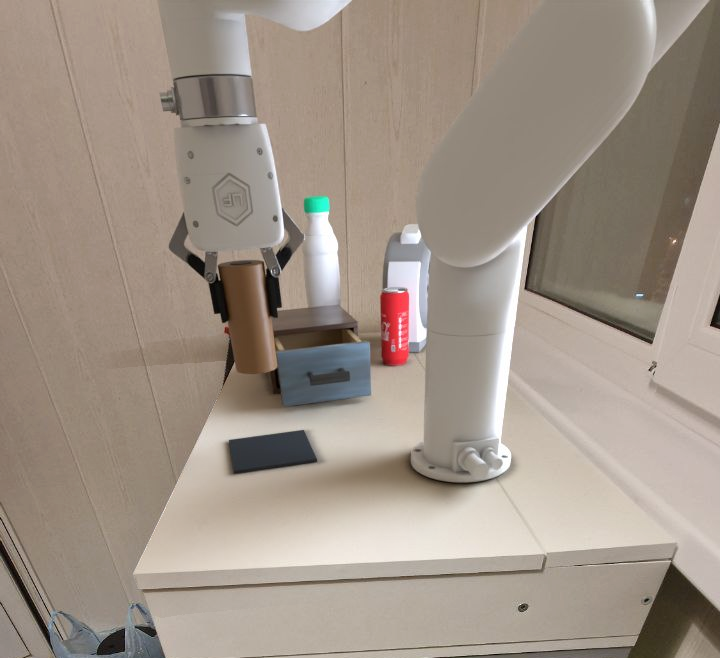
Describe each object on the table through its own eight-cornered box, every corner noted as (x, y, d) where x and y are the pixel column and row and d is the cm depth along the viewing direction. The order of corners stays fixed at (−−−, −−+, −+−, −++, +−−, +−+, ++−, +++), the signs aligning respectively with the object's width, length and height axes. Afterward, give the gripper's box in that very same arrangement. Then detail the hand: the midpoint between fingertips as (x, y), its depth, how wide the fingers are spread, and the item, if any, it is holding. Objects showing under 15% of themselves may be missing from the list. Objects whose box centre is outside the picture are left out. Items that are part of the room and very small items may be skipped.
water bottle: (306, 345, 119) (291, 197, 103) (336, 340, 121) (326, 194, 105) (318, 353, 114) (304, 198, 98) (349, 347, 116) (341, 195, 100)
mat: (317, 461, 73) (317, 458, 73) (234, 473, 72) (233, 470, 71) (304, 432, 81) (303, 429, 81) (229, 442, 80) (228, 439, 80)
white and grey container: (422, 357, 108) (426, 229, 95) (381, 355, 110) (378, 230, 97) (441, 334, 121) (446, 218, 108) (403, 333, 123) (404, 220, 110)
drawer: (378, 403, 87) (376, 349, 81) (287, 415, 85) (279, 360, 79) (351, 371, 100) (349, 322, 95) (272, 380, 98) (265, 331, 93)
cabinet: (360, 382, 98) (357, 321, 92) (273, 393, 96) (264, 331, 89) (342, 360, 109) (338, 304, 103) (263, 369, 107) (255, 312, 101)
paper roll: (280, 371, 68) (266, 263, 61) (237, 376, 67) (218, 267, 60) (275, 360, 72) (261, 257, 65) (234, 364, 71) (216, 261, 64)
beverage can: (406, 366, 104) (407, 292, 96) (379, 366, 105) (377, 292, 97) (410, 358, 108) (411, 286, 100) (384, 358, 109) (382, 287, 101)
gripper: (123, 107, 50) (175, 332, 62) (309, 100, 52) (325, 317, 64) (129, 113, 55) (176, 318, 67) (297, 106, 58) (314, 305, 70)
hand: (249, 316), depth 66 cm, fingers closed on paper roll, 5 cm apart
